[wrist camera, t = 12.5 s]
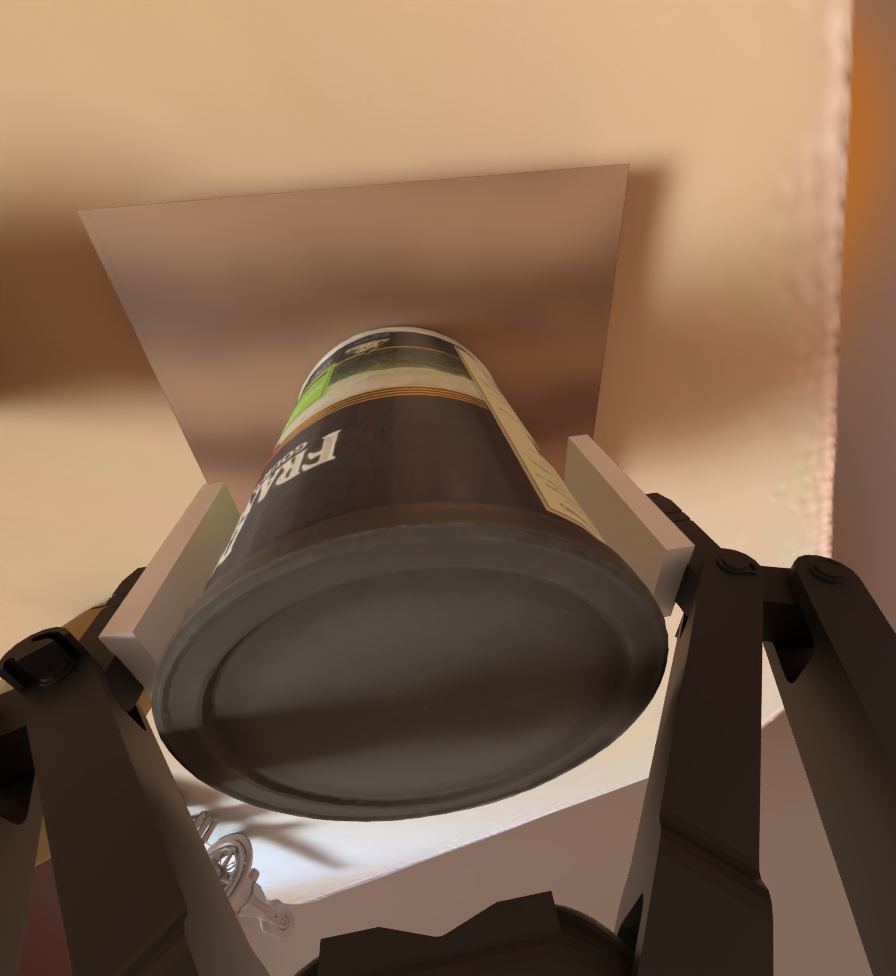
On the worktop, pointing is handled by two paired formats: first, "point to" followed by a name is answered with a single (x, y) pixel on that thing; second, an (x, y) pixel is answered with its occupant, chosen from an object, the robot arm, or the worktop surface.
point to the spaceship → (245, 882)
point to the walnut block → (367, 296)
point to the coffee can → (406, 606)
